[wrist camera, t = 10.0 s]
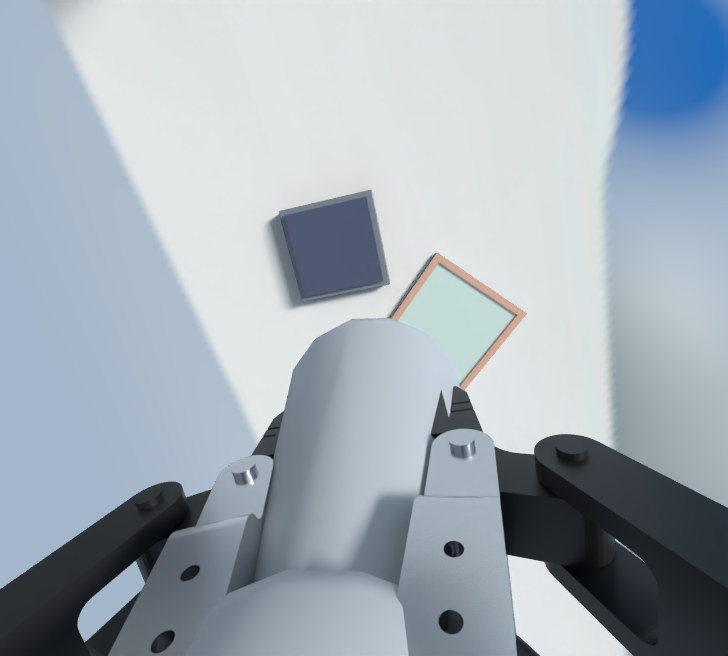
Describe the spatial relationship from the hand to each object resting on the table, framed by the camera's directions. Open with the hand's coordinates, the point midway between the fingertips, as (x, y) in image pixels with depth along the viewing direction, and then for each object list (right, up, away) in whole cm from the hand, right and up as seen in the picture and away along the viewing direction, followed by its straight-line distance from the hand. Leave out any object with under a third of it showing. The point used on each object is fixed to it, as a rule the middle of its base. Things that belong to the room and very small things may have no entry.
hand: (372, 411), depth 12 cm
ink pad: (-2, +9, +18) cm, 20 cm away
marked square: (+7, +3, +19) cm, 21 cm away
